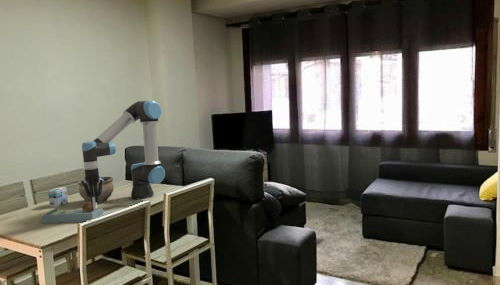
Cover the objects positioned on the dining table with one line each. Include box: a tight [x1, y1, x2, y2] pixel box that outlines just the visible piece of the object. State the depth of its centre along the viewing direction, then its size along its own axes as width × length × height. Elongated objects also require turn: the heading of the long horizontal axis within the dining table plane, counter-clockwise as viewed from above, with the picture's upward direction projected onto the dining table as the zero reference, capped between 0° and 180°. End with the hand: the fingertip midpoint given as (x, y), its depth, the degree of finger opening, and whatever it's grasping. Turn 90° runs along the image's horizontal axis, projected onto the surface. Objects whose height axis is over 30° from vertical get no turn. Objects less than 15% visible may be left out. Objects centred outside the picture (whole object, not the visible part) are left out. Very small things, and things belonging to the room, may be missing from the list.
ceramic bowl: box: [77, 176, 114, 204], centre depth 279 cm, size 22×22×15 cm
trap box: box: [41, 207, 104, 224], centre depth 243 cm, size 29×16×4 cm, turn 87°
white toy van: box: [47, 186, 69, 208], centre depth 275 cm, size 11×7×11 cm, turn 168°
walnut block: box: [81, 200, 94, 212], centre depth 245 cm, size 5×5×5 cm
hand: (95, 207), depth 245 cm, fingers closed
